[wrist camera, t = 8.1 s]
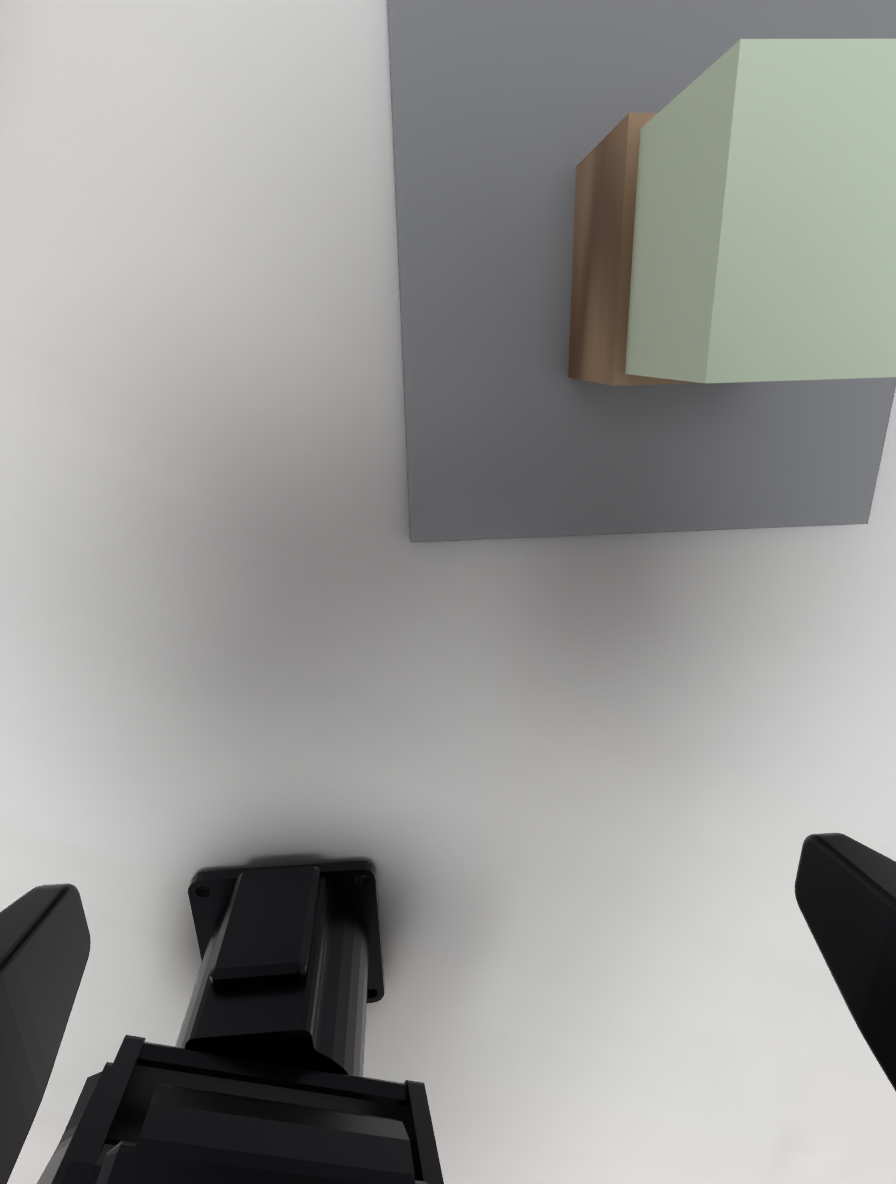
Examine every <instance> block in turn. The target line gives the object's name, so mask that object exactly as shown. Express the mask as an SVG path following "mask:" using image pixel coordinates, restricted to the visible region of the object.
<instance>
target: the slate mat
mask: <svg viewBox="0 0 896 1184" xmlns="http://www.w3.org/2000/svg"><path fill="white" fill-rule="evenodd" d="M387 6H388V29H389V53H390V76H391V99H392V122H393V145H394V169H395V192H396V215H397V238H398V262H399V285H400V308H401V331H402V355H403V378H404V401H405V424H406V448H407V471H408V494H409V517H410V540H411V542H432V541H457V540H481V539H506V538H530V537H555V536H579V535H604V534H628V533H653V532H677V531H702V530H726V529H750V528H775V527H799V526H824V525H848V524H868V520H869V515H870V510H871V505H872V500H873V495H874V490H875V485H876V480H877V475H878V471H879V466H880V461H881V456H882V451H883V446H884V441H885V436H886V431H887V427H888V422H889V417H890V412H891V407H892V402H893V397H894V392H895V387H896V377H885V378H855V379H833V380H802V381H765V382H733V383H691V384H655V385H618V386H611V385H606V384H600V383H595V382H589V381H584V380H578V379H573V378H568V365H569V340H570V315H571V289H572V264H573V238H574V213H575V188H576V166H577V165H578V164H579V163H580V162H581V161H582V160H583V159H584V158H585V157H586V156H587V155H588V154H589V153H590V152H591V151H592V150H593V149H594V148H595V147H596V146H597V145H598V144H599V143H600V142H601V141H602V140H603V139H604V138H605V137H606V136H607V135H608V134H609V133H610V132H611V131H612V130H613V129H614V128H615V127H616V126H617V125H618V124H619V123H620V122H621V120H622V119H623V118H624V117H625V116H626V115H627V114H628V113H659V112H660V111H661V110H662V109H663V108H664V107H665V106H666V105H668V104H669V103H670V102H671V101H672V100H673V99H674V98H675V97H676V96H678V95H679V94H680V93H681V92H682V91H683V90H684V89H685V88H687V87H688V86H689V85H690V84H691V83H692V82H693V81H694V80H695V79H697V78H698V77H699V76H700V75H701V74H702V73H703V72H704V71H705V70H707V69H708V68H709V67H710V66H711V65H712V64H713V63H714V62H716V61H717V60H718V59H719V58H720V57H721V56H722V55H723V54H724V53H726V52H727V51H728V50H729V49H730V48H731V47H732V46H733V45H734V44H736V43H737V42H738V41H739V40H740V39H896V0H387Z"/></svg>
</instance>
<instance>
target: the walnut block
mask: <svg viewBox="0 0 896 1184" xmlns="http://www.w3.org/2000/svg"><path fill="white" fill-rule="evenodd" d="M656 114H657V113H628V114H627V115H626V116H625V117H624V118H623V119H622V120H621V122H620V123H619V124H618V125H617V126H616V127H615V128H614V129H613V130H612V131H611V132H610V133H609V134H608V135H607V136H606V137H605V138H604V139H603V140H602V141H601V142H600V143H599V144H598V145H597V146H596V147H595V148H594V149H593V150H592V151H591V152H590V153H589V154H588V155H587V156H586V157H585V158H584V159H583V160H582V161H581V162H580V163H579V164H578V165H577V166H576V188H575V213H574V238H573V264H572V289H571V315H570V340H569V365H568V378H573V379H578V380H584V381H589V382H595V383H600V384H606V385H611V386H618V385H655V384H691V383H697V382H689V381H680V380H672V379H663V378H655V377H647V376H638V375H630V374H625V364H626V348H627V332H628V316H629V300H630V284H631V269H632V253H633V237H634V221H635V205H636V189H637V173H638V157H639V141H640V129H641V128H642V127H643V126H644V125H645V124H646V123H647V122H649V121H650V120H651V119H652V118H653V117H654V116H655V115H656ZM825 380H833V379H825ZM794 381H802V380H794ZM764 382H765V381H764Z"/></svg>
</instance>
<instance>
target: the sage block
mask: <svg viewBox="0 0 896 1184" xmlns="http://www.w3.org/2000/svg"><path fill="white" fill-rule="evenodd" d="M625 374H630V375H638V376H647V377H655V378H663V379H672V380H680V381H689V382H697V383H733V382H764V381H794V380H825V379H855V378H885V377H896V39H740V40H739V41H738V42H737V43H736V44H734V45H733V46H732V47H731V48H730V49H729V50H728V51H727V52H726V53H724V54H723V55H722V56H721V57H720V58H719V59H718V60H717V61H716V62H714V63H713V64H712V65H711V66H710V67H709V68H708V69H707V70H705V71H704V72H703V73H702V74H701V75H700V76H699V77H698V78H697V79H695V80H694V81H693V82H692V83H691V84H690V85H689V86H688V87H687V88H685V89H684V90H683V91H682V92H681V93H680V94H679V95H678V96H676V97H675V98H674V99H673V100H672V101H671V102H670V103H669V104H668V105H666V106H665V107H664V108H663V109H662V110H661V111H660V112H659V113H657V114H656V115H655V116H654V117H653V118H652V119H651V120H650V121H649V122H647V123H646V124H645V125H644V126H643V127H642V128H641V129H640V141H639V157H638V173H637V189H636V205H635V221H634V237H633V253H632V269H631V284H630V300H629V316H628V332H627V348H626V364H625Z"/></svg>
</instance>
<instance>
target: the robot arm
mask: <svg viewBox="0 0 896 1184" xmlns="http://www.w3.org/2000/svg"><path fill="white" fill-rule="evenodd" d="M358 875H365V876H366V877H363V878H361V877H358ZM200 886H206V887H208V889H205V888H202V887H200ZM188 894H189V899H190V904H191V909H192V914H193V919H194V924H195V929H196V934H197V939H198V943H199V948H200V953H201V958H202V964H201V968H200V971H199V974H198V977H197V980H196V983H195V986H194V990H193V993H192V996H191V999H190V1002H189V1005H188V1009H187V1012H186V1015H185V1018H184V1021H183V1024H182V1028H181V1031H180V1034H179V1037H178V1040H177V1043H176V1046H175V1047H173V1046H167V1045H161V1044H154V1043H148V1042H145V1038H142V1037H135V1036H129V1035H126V1036H125V1038H124V1040H123V1042H122V1045H121V1047H120V1049H119V1051H118V1054H117V1056H116V1058H115V1060H114V1063H109V1062H107V1063H106V1065H105V1067H104V1069H103V1071H102V1072H100V1073H98V1074H95V1075H93V1076H91V1077H88V1078H87V1080H86V1083H85V1085H84V1087H83V1090H82V1092H81V1094H80V1097H79V1099H78V1102H77V1104H76V1106H75V1109H74V1111H73V1113H72V1116H71V1118H70V1120H69V1123H68V1125H67V1127H66V1130H65V1132H64V1134H63V1136H62V1138H61V1140H60V1143H59V1145H58V1147H57V1149H56V1150H55V1152H54V1154H53V1156H52V1158H51V1160H50V1161H49V1163H48V1165H47V1167H46V1168H45V1170H44V1172H43V1174H42V1175H41V1177H40V1179H39V1181H38V1182H37V1184H444V1182H443V1177H442V1172H441V1167H440V1162H439V1157H438V1152H437V1147H436V1141H435V1136H434V1131H433V1126H432V1121H431V1116H430V1111H429V1106H428V1101H427V1095H426V1090H425V1085H424V1083H420V1082H414V1081H408V1080H406V1081H405V1083H398V1082H391V1081H385V1080H379V1079H373V1078H366V1077H363V1063H364V1042H365V1020H366V1003H373V1002H377V1001H379V1000H381V999H382V997H383V996H384V971H383V958H382V944H381V931H380V918H379V905H378V891H377V878H376V870H375V867H374V866H373V865H372V864H371V863H369V862H367V861H353V862H338V863H324V864H309V865H295V866H280V867H266V868H252V869H237V870H223V871H208V872H201V873H198V874H196V875H195V876H194V877H193V878H192V880H191V883H190V886H189V888H188ZM795 895H796V900H797V903H798V906H799V908H800V910H801V912H802V914H803V916H804V918H805V920H806V922H807V924H808V927H809V929H810V931H811V933H812V935H813V937H814V939H815V941H816V943H817V945H818V947H819V949H820V951H821V953H822V955H823V957H824V959H825V962H826V964H827V966H828V968H829V970H830V972H831V974H832V976H833V978H834V980H835V982H836V984H837V986H838V988H839V990H840V992H841V994H842V996H843V999H844V1001H845V1003H846V1005H847V1007H848V1009H849V1011H850V1013H851V1015H852V1016H853V1018H854V1020H855V1022H856V1024H857V1026H858V1028H859V1030H860V1032H861V1033H862V1035H863V1037H864V1039H865V1040H866V1042H867V1044H868V1045H869V1047H870V1049H871V1051H872V1052H873V1054H874V1056H875V1057H876V1059H877V1061H878V1062H879V1064H880V1066H881V1067H882V1069H883V1071H884V1072H885V1074H886V1076H887V1077H888V1079H889V1081H890V1082H891V1084H892V1086H893V1087H894V1089H895V1091H896V862H895V861H893V860H891V859H890V858H888V857H886V856H884V855H882V854H880V853H878V852H876V851H874V850H872V849H871V848H869V847H867V846H865V845H863V844H861V843H859V842H857V841H855V840H853V839H852V838H850V837H848V836H846V835H844V834H840V833H824V834H812V835H809V836H808V837H807V838H806V839H805V840H804V842H803V846H802V851H801V856H800V861H799V866H798V871H797V876H796V881H795ZM89 952H90V933H89V929H88V925H87V921H86V918H85V914H84V910H83V906H82V902H81V898H80V894H79V891H78V889H77V888H76V887H75V886H74V885H72V884H55V885H42V886H38V887H35V888H34V889H32V890H30V891H29V892H27V893H26V894H25V895H23V896H22V897H21V898H19V899H18V900H16V901H15V902H14V903H12V904H11V905H10V906H8V907H7V908H5V909H4V910H3V911H1V912H0V1184H7V1182H8V1179H9V1177H10V1175H11V1172H12V1170H13V1168H14V1165H15V1163H16V1161H17V1158H18V1156H19V1154H20V1151H21V1149H22V1147H23V1144H24V1142H25V1140H26V1137H27V1135H28V1133H29V1130H30V1128H31V1126H32V1123H33V1121H34V1118H35V1116H36V1113H37V1111H38V1108H39V1106H40V1103H41V1101H42V1098H43V1095H44V1092H45V1089H46V1087H47V1084H48V1081H49V1078H50V1075H51V1072H52V1069H53V1066H54V1063H55V1060H56V1056H57V1053H58V1050H59V1047H60V1044H61V1041H62V1038H63V1035H64V1032H65V1029H66V1025H67V1022H68V1019H69V1016H70V1013H71V1010H72V1007H73V1004H74V1001H75V997H76V994H77V991H78V988H79V985H80V982H81V979H82V976H83V973H84V970H85V966H86V963H87V960H88V957H89ZM370 988H371V989H370Z"/></svg>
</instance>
